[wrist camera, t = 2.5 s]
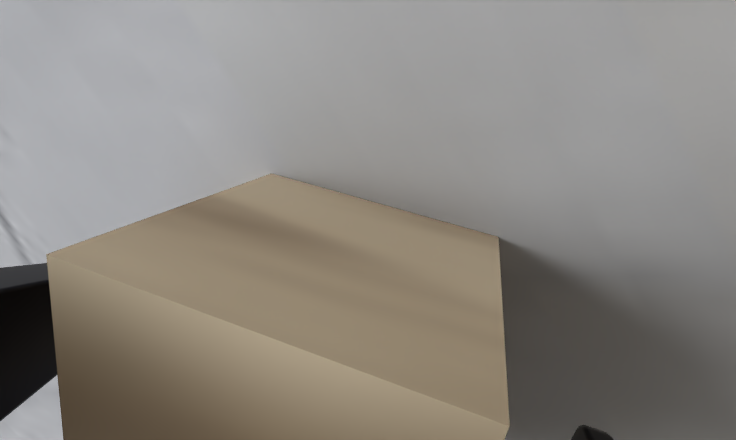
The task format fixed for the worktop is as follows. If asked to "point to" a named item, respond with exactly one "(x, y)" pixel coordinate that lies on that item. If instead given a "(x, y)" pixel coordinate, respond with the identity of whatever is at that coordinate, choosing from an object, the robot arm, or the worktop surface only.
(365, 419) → the maple cube
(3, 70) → the worktop surface
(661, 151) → the worktop surface
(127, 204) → the worktop surface
